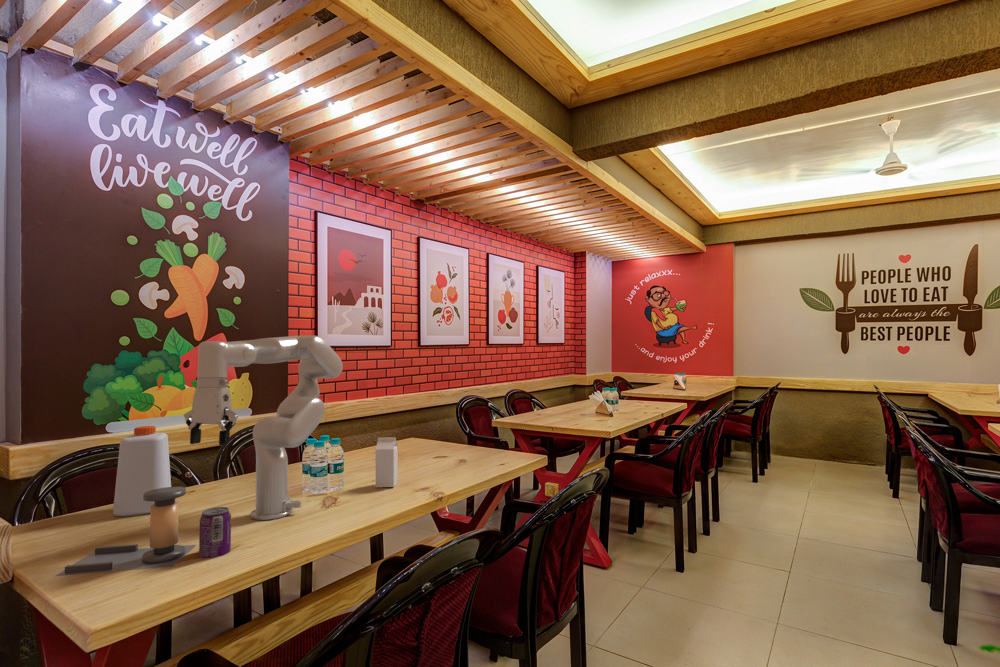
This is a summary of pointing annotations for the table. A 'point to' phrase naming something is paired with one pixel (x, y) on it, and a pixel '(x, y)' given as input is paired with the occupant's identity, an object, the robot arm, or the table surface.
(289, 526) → the table surface
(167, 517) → the bobbin
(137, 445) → the plastic bottle
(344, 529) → the table surface
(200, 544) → the beverage can
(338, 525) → the table surface
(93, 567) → the board
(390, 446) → the milk carton
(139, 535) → the table surface
